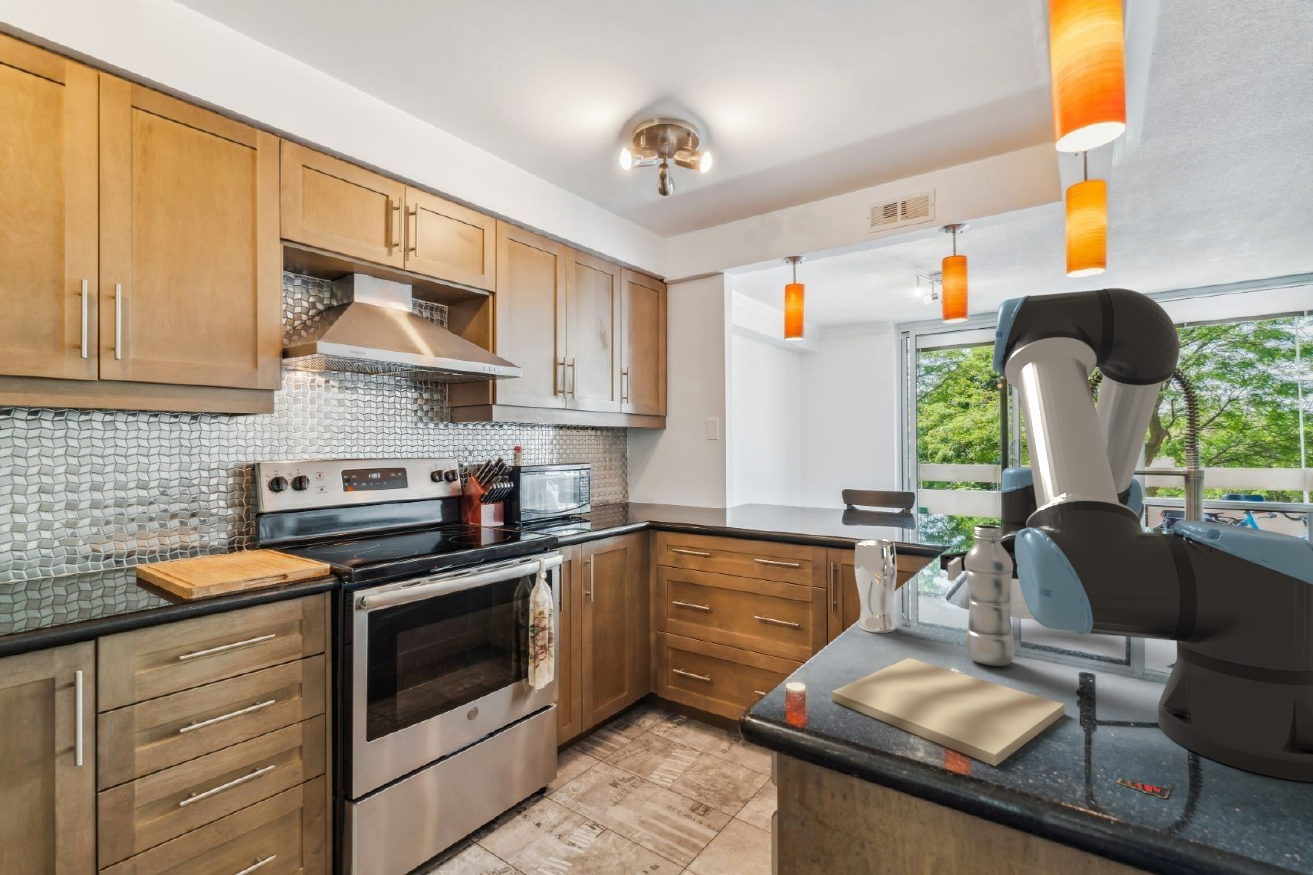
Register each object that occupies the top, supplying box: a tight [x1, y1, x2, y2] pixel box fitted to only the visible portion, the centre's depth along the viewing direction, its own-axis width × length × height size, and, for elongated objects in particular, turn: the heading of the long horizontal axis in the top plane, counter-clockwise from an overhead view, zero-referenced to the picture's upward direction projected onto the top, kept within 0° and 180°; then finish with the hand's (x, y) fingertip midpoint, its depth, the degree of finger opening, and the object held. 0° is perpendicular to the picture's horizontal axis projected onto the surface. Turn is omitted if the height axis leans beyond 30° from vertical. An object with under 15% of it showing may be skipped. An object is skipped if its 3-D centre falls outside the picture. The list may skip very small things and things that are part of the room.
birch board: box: [831, 657, 1065, 767], centre depth 75 cm, size 20×18×1 cm
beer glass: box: [854, 538, 898, 634], centre depth 106 cm, size 7×7×15 cm
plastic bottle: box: [964, 524, 1017, 667], centre depth 89 cm, size 6×7×20 cm
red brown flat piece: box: [1116, 777, 1174, 799], centre depth 59 cm, size 5×5×1 cm
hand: (997, 577), depth 96 cm, fingers open, 13 cm apart
